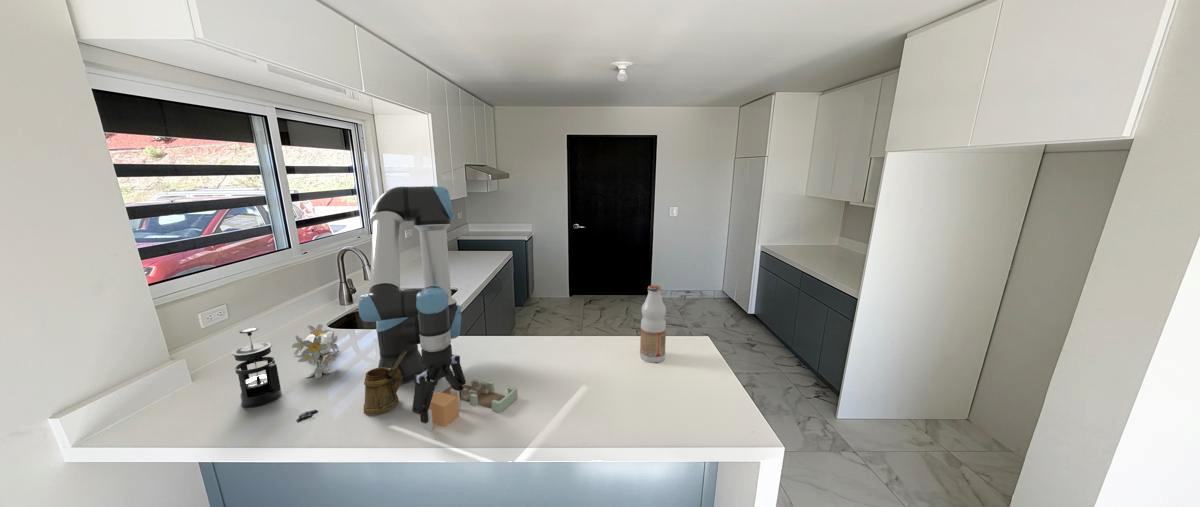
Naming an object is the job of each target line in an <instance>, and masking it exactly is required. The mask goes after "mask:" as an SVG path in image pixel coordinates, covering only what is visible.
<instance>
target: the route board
mask: <svg viewBox="0 0 1200 507" xmlns="http://www.w3.org/2000/svg"><path fill="white" fill-rule="evenodd" d="M470 383H471V384H470V385H468V384H464V385H462V386H463V387H464V388H463V390H461V399H460V401H464V402H468V403H470V395H471V394H476V395H477V396H478V405H477V406H481V407H483V408H488V409H491V410H492V402H491V401H493V400H497V401H500V400H501V399H503V398H504V397H505V396H506V395H503V394H500V393H496V392H493V393H491V392H489V389H488V383H487V382H485V381H480V380H478V379H474V378H473V379H471V380H470ZM451 389H454V388H452V386H451V385H449V387H447V388H446V389H444V390H443V391H442V392H443V393H446V394H449V395H451V394H450V390H451ZM515 401H516V400H514V401H513V402H512V403H511V404H510V405H509V406H508V407H510V406H511V405H512V404H513V403H514V402H515ZM508 407H506V408H505V409H504V410H503V411H502V412H501V413H503V412H504V411H505V410H506V409H507V408H508Z"/></svg>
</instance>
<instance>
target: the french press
mask: <svg viewBox="0 0 1200 507" xmlns="http://www.w3.org/2000/svg"><path fill="white" fill-rule="evenodd" d="M258 330H259V327H248V328H244V329H241V330H239V333H240V334H246V335H247V336H248V338H249V342H250V344H246V345H243V346H240V347H237V348H236V349H234V350H233V351H232V352H231V355H232V356H233V357H234V359H235V361H237V362H241V363H239V364H237V365H235V367H234V370H235V374H236V375H238V380H239V387H240V390H241V392H240V394H239V395H240V400H241V402H240V406H241V407H242V408H244V409H245V408H246V409H250V408H251V409H252V408H257V407H261V406H264V405H265V406H266V405H268V404H270V403H272V402H274V401H276V400H278V399H279V398H280V397H281V396H282V394H283V393H282V389H281V382H280V377H279V376H280V375H279V372H278V366H277V364H276V361H275V357H273V356H268V355H269V354H270V353H271V352H272V348H271V347H272V346H273V344H272V342H267V341H263V342H261V341H260V342H254V343H253V339H252V336H253V334H252V332H256V331H258ZM258 362H259V363H261V362H267V364H265V365H263V366H260V367H258V366H257V363H258ZM251 364H254V368H251V369H248V365H251ZM263 371H265V373H262V374H259V373H260V372H263ZM251 374H256V375H254V376H251V377H250V375H251Z"/></svg>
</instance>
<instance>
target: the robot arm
mask: <svg viewBox="0 0 1200 507" xmlns="http://www.w3.org/2000/svg"><path fill="white" fill-rule="evenodd" d="M454 219H455V215H454V210H453V206H452V200H451V196H450V192H449V190H448V188H446V187H444V186H433V185H432V186H429V185H428V186H396V187H392V188H390V189H388V190H387V191H385V192H384V193H382V194H381V195H380V196H379V198H377V199H376V201H375V202H374V204H373V205H372V207H371V211H370V214H369V224H370V226H371V227H372V242H371V257H370V258H371V259H370V274H369V289H368V290H369V293H366V294H362V295H360V296H359V299H358V306H357V307H358V314H359V318H360V320H362V321H363V322H366V323H370V322H375V324H376V328H375V329H376V330H375V331H376V333H377V342H378V348H379V361H378V365H377V368H380V367H385V368H391V367H392V365H393V364H394V363H395V361H396V360H397V358H398V357H399V356H400V355H401V353H402V352H403V351H404V350H405V349H406V351H407V353H406V354H405V356H404V357H403V359H402V360H401V362H400V363H399V365H398V366H397V368H398V369H399V370H400V372H401V375H402V382H401V384H400V385H402V384H406V383H409V382H412V381H414V391H413V400H412V409H411V412H412V413H415V414H417V415H419V417H420V422H421V423H422V426H423V429H424V430H427V431H429V432H432V431H434V423H433V422H432V411H431V410H430V409H429V407H430V403H431V400H432V396H433V395H434V394H435V393H434V392H435V389H436V386H438V382H439V381H440V380H441V379H442V378H445V380H446V381H447V383H448V384H449V386H452V388H454V389H451V390H450V394H451V395H453V396H456V397H458V410H459V411H460V410H461V408H462V407H461V400H460V399H461V390H463V388H464V387H463V386H462V385H466V382H467V380H466V378H465V374H464V372H463V369H462V365H461V356H460V355H457V354H453V348H452V344H451V343H452V340H454V339H456V338H458V337H459V336H460V332H461V327H462V326H461V325H462V324H461V322H462V306H461V305H459V304H457V303H458V302H457V300H456V299H455V298H454V297H453V296H452V287H451V284H452V283H451V276H450V274H451V273H450V271H451V270H450V263H449V262H450V261H449V260H450V259H449V250H448V249H449V248H448V236H447V235H448V234H447V229H448V228H449V227H450V226H451V221H453V220H454ZM405 222H413V227H414V228H415V229H417V231H418V232H419V242H420V252H421V253H420V254H421V264H422V266H421V268H422V276H423V287H424V288H420V289H411V290H401V287H400V286H401V229H402V228H403V226H404V225H405ZM418 345H420V348H421V352H420V351H419V347H418ZM395 382H396V379H395V378H394V377H393V378H392V383H393V384H395Z"/></svg>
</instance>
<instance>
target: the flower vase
mask: <svg viewBox="0 0 1200 507" xmlns="http://www.w3.org/2000/svg"><path fill="white" fill-rule="evenodd" d="M307 328H308V330H309V335H308V336H306V338H305V339H304V340H303V338H302V337H300V336H299V334H296V335H295V340H296V342H295V343H293V344H292V346H291V348H292V349H293V350H295V351H294V353H293V358H298V360H297V362H298V363H304V362H307V361H308V363H309V364H310V365H312V366H316V368H314V370H312V371H311V372H310V373H309V374H307V375H306V376H305V379H308V378H310V377H311V378H312V377H313V376H314V378H315V379H321V377H322V376H323V374H332V373H333V371H332V370H330V367H327V366H328V362H329V363H333V362H336V360H337V358H336V355H337V354H338V353H339V352H340V350H339V346H338V344H337V343H336V342H337V341H338V335H335V331H334V330H333V331H332V330H329V329H324V325H323V324H318V325H316V327H314V326H313V325H311V324H310V325H307ZM303 349H304V350H303ZM302 350H303V351H302ZM331 350H332V351H333V352H330V351H331ZM301 351H302V352H301ZM300 352H301V354H300ZM299 354H300V355H299ZM321 356H322V357H323V358H322V360H320V359H319V358H320V357H321ZM319 363H320V364H319ZM321 366H322V367H321Z"/></svg>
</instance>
